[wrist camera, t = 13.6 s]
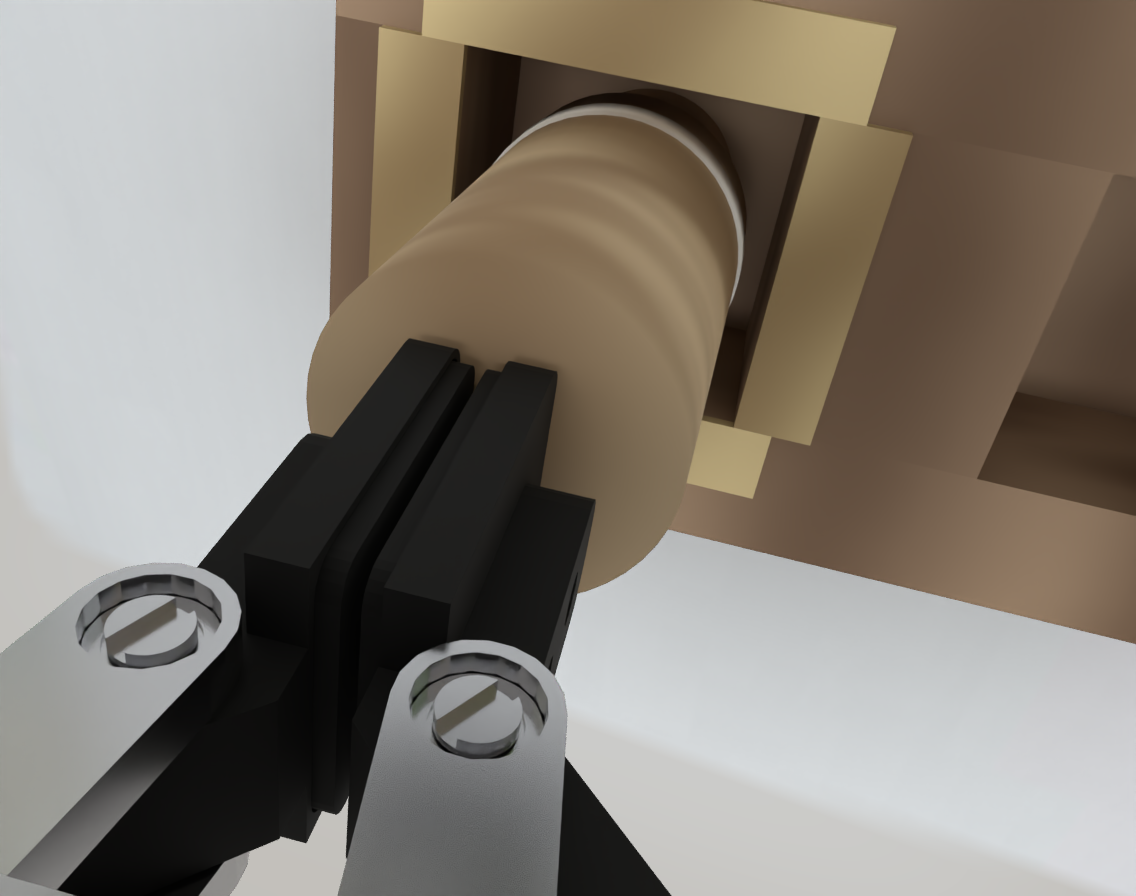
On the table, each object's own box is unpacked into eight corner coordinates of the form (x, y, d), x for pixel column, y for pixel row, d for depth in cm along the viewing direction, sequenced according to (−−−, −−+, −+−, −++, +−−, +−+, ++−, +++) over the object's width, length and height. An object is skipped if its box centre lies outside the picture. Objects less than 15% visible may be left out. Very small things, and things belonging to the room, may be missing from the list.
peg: (784, 81, 19) (734, 297, 10) (733, 301, 21) (654, 641, 12) (553, 39, 20) (299, 206, 10) (528, 258, 22) (304, 552, 13)
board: (1584, 27, 17) (1846, 96, 13) (1249, 537, 23) (1351, 703, 19) (444, -181, 19) (334, -182, 15) (408, 341, 25) (322, 450, 21)
